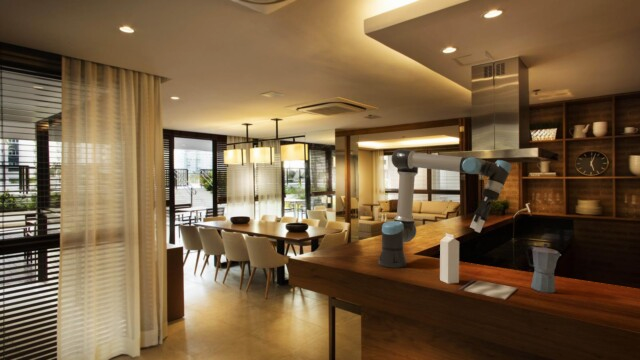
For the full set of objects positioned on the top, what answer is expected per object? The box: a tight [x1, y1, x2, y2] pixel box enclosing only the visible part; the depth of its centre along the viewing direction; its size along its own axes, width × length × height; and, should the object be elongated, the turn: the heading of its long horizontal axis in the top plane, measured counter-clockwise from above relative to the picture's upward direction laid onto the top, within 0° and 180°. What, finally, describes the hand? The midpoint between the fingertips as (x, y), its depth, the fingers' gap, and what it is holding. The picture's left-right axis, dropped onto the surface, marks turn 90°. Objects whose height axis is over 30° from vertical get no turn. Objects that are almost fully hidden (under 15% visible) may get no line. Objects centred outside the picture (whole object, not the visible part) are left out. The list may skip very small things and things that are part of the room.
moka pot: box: [525, 243, 562, 294], centre depth 151 cm, size 10×15×20 cm, turn 28°
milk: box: [439, 232, 460, 285], centre depth 162 cm, size 6×6×22 cm
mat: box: [457, 279, 518, 300], centre depth 151 cm, size 19×18×1 cm
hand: (474, 230), depth 172 cm, fingers open, 13 cm apart
